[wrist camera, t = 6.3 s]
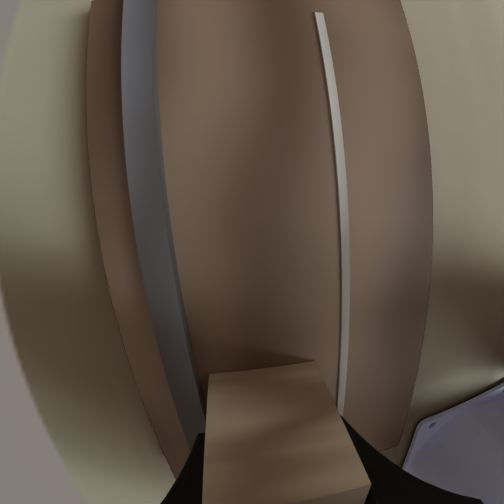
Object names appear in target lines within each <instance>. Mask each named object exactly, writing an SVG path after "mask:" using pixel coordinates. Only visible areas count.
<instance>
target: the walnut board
mask: <svg viewBox="0 0 504 504" xmlns="http://www.w3.org/2000/svg"><path fill="white" fill-rule="evenodd" d="M86 119H87V140H88V155H89V167H90V177H91V186H92V195H93V203H94V210H95V217H96V224H97V230H98V236H99V242H100V247H101V253H102V258H103V263H104V268H105V273H106V277H107V282H108V286H109V291H110V295H111V299H112V303H113V307H114V311H115V315H116V319H117V323H118V326H119V330H120V334H121V337H122V341H123V344H124V347H125V351H126V354H127V357H128V360H129V363H130V367H131V370H132V373H133V376H134V379H135V382H136V385H137V387H138V390H139V393H140V396H141V399H142V401H143V404H144V407H145V409H146V412H147V414H148V417H149V420H150V422H151V425H152V427H153V429H154V432H155V434H156V437H157V439H158V441H159V444H160V446H161V448H162V451H163V453H164V455H165V457H166V459H167V462H168V464H169V466H170V468H171V470H172V472H173V474H174V476H175V478H176V479H177V478H178V476H179V474H180V472H181V470H182V468H183V467H184V465H185V463H186V461H187V459H188V456H189V454H190V452H191V450H192V447H193V445H194V442H195V439H196V436H197V435H198V434H199V433H205V430H206V413H207V397H208V383H209V374H214V373H225V372H236V371H245V370H254V369H262V368H270V367H278V366H285V365H292V364H298V363H304V362H310V361H315V362H316V365H317V367H318V369H319V371H320V373H321V375H322V377H323V380H324V382H325V384H326V386H327V388H328V390H329V392H330V395H331V397H332V399H333V401H334V403H335V405H336V408H337V410H338V412H339V414H340V415H341V416H343V418H344V419H345V420H346V421H347V422H348V423H349V424H350V425H351V426H352V427H353V428H354V429H355V430H356V431H357V432H358V433H359V434H360V435H361V436H362V437H363V438H364V439H365V440H366V441H367V442H368V443H369V444H370V445H372V446H373V447H374V448H375V449H376V450H377V451H378V452H379V451H383V450H386V449H389V448H392V447H395V446H398V444H399V441H400V438H401V434H402V431H403V428H404V424H405V421H406V417H407V413H408V409H409V406H410V402H411V397H412V393H413V389H414V385H415V380H416V375H417V371H418V366H419V360H420V355H421V349H422V343H423V337H424V331H425V324H426V316H427V308H428V299H429V289H430V278H431V264H432V242H433V191H432V170H431V155H430V144H429V134H428V126H427V118H426V110H425V104H424V97H423V91H422V86H421V80H420V75H419V70H418V65H417V61H416V56H415V52H414V48H413V43H412V39H411V36H410V32H409V28H408V25H407V21H406V18H405V14H404V11H403V8H402V5H401V1H400V0H94V1H92V2H91V11H90V20H89V31H88V44H87V65H86Z"/></svg>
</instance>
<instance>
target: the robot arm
mask: <svg viewBox="0 0 504 504" xmlns="http://www.w3.org/2000/svg"><path fill="white" fill-rule="evenodd" d="M340 416H341V415H340ZM341 418H342V421H343V423H344V425H345V427H346V429H347V431H348V434H349V436H350V438H351V440H352V442H353V445H354V447H355V449H356V451H357V453H358V455H359V458H360V460H361V462H362V464H363V466H364V469H365V471H366V473H367V475H368V477H369V480H370V482H371V486H370V489H369V492H368V495H367V498H366V500H365V503H364V504H504V382H503V383H501V384H499V385H498V386H496V387H494V388H492V389H490V390H488V391H486V392H484V393H482V394H480V395H478V396H476V397H474V398H472V399H470V400H468V401H466V402H464V403H462V404H459V405H457V406H455V407H453V408H450V409H448V410H446V411H443V412H441V413H439V414H436V415H434V416H431V417H429V418H426V419H424V420H422V421H421V422H420V423H419V424H418V425H417V428H416V431H415V434H414V437H413V440H412V442H411V445H410V448H409V451H408V454H407V456H406V459H405V461H404V464H403V467H402V468H400V467H399V466H397V465H396V464H394V463H393V462H391V461H390V460H389V459H387V458H386V457H385V456H383V455H382V454H381V453H380V452H378V451H377V450H376V449H375V448H374V447H373V446H372V445H370V444H369V443H368V442H367V441H366V440H365V439H364V438H363V437H362V436H361V435H360V434H359V433H358V432H357V431H356V430H355V429H354V428H353V427H352V426H351V425H350V424H349V423H348V422H347V421H346V420H345V419H344V418H343V416H341ZM204 448H205V433H199V434H198V435H197V436H196V439H195V442H194V445H193V447H192V450H191V452H190V454H189V456H188V459H187V461H186V463H185V465H184V467H183V468H182V470H181V472H180V474H179V476H178V478H177V479H176V481H175V483H174V484H173V486H172V488H171V489H170V491H169V492H168V494H167V495H166V497H165V498H164V500H163V501H162V502H161V504H202V494H203V469H204Z"/></svg>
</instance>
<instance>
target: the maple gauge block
mask: <svg viewBox="0 0 504 504" xmlns="http://www.w3.org/2000/svg"><path fill="white" fill-rule="evenodd" d="M370 486H371V482H370V480H369V477H368V475H367V473H366V471H365V469H364V466H363V464H362V462H361V460H360V458H359V455H358V453H357V451H356V449H355V447H354V445H353V442H352V440H351V438H350V436H349V434H348V431H347V429H346V427H345V425H344V423H343V421H342V418H341V416H340V414H339V412H338V410H337V408H336V405H335V403H334V401H333V399H332V397H331V395H330V392H329V390H328V388H327V386H326V384H325V382H324V380H323V377H322V375H321V373H320V371H319V369H318V367H317V365H316V362H315V361H310V362H304V363H298V364H292V365H285V366H278V367H270V368H262V369H254V370H245V371H236V372H225V373H214V374H209V383H208V397H207V413H206V430H205V448H204V469H203V494H202V504H364V503H365V500H366V498H367V495H368V492H369V489H370Z"/></svg>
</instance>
